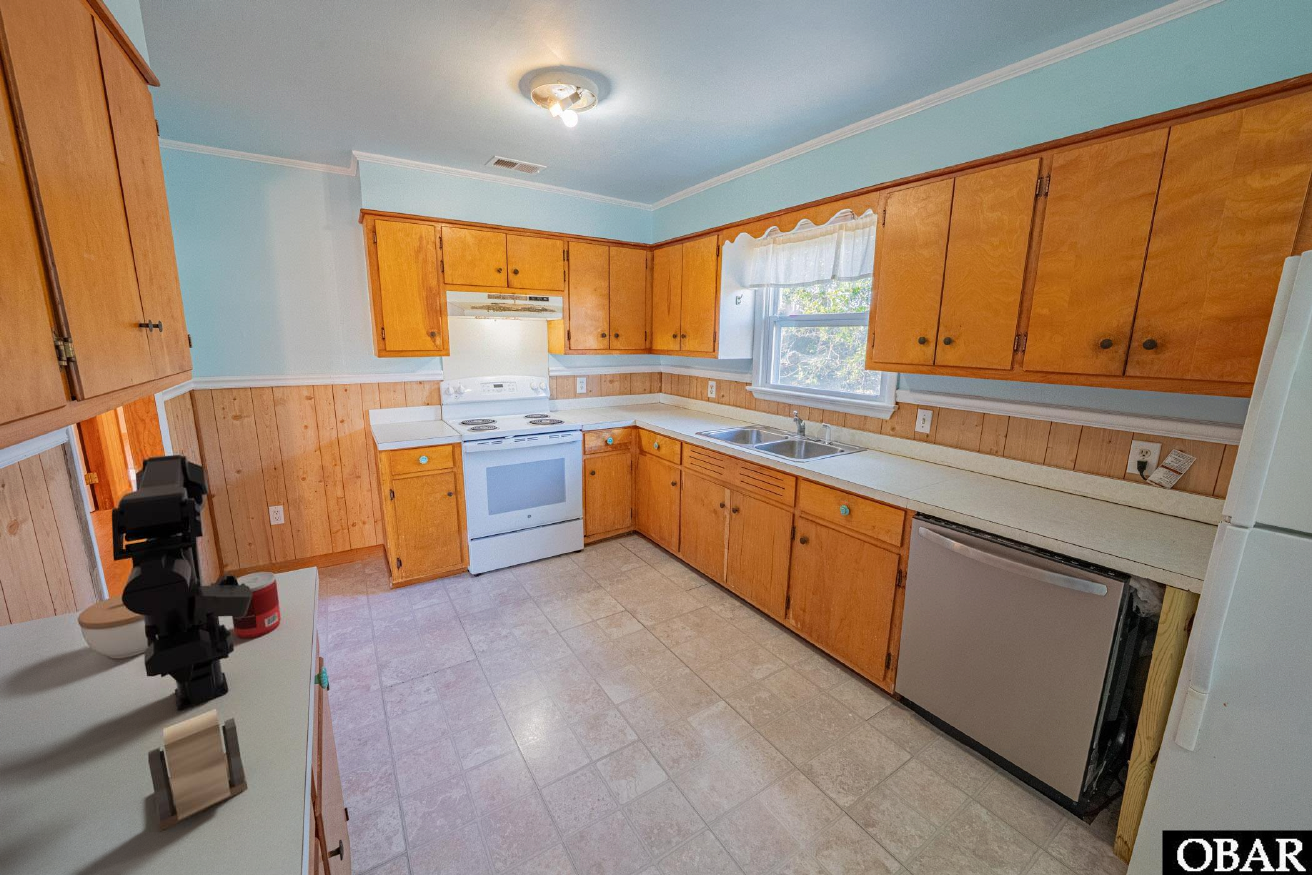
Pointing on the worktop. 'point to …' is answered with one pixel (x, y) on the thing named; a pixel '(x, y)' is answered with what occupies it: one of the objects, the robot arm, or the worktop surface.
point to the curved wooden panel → (196, 763)
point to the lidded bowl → (113, 629)
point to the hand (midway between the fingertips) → (185, 681)
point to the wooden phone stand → (163, 781)
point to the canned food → (259, 606)
